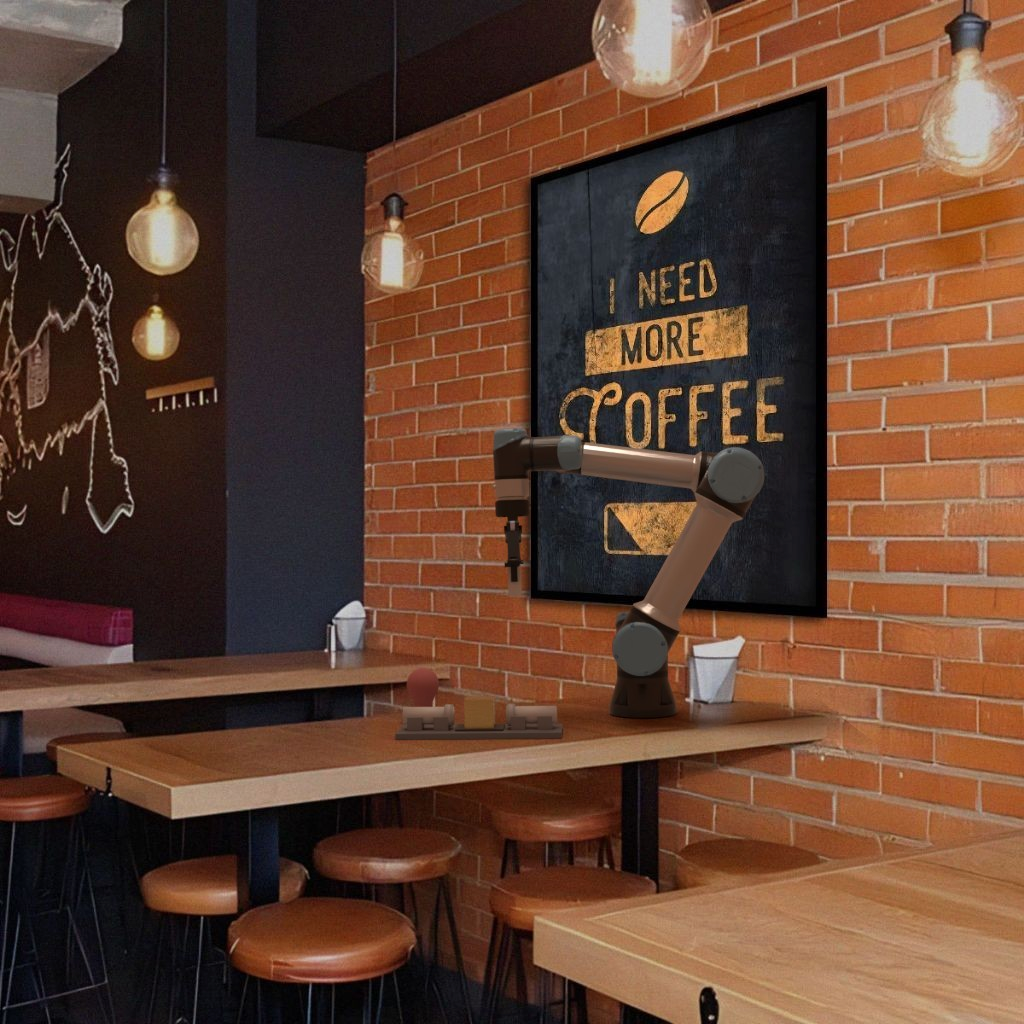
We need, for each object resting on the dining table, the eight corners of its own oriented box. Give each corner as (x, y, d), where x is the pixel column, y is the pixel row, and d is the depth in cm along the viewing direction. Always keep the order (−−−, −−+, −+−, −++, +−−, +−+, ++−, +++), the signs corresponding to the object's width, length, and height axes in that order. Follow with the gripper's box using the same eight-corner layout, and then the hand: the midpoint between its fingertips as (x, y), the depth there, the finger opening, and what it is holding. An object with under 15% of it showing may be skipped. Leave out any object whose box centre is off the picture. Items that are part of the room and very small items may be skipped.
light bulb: (441, 719, 299) (440, 666, 299) (436, 724, 292) (435, 669, 292) (410, 719, 299) (409, 666, 299) (404, 724, 292) (403, 670, 292)
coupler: (466, 724, 280) (466, 696, 280) (495, 724, 280) (494, 696, 280) (464, 728, 275) (464, 699, 275) (493, 728, 275) (493, 699, 275)
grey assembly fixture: (562, 729, 283) (562, 699, 283) (561, 738, 271) (561, 707, 271) (403, 730, 285) (402, 700, 285) (395, 739, 273) (394, 708, 273)
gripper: (496, 500, 306) (499, 592, 306) (493, 498, 281) (496, 599, 281) (529, 499, 306) (532, 591, 305) (528, 497, 281) (532, 598, 281)
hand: (515, 595), depth 293 cm, fingers open, 13 cm apart
